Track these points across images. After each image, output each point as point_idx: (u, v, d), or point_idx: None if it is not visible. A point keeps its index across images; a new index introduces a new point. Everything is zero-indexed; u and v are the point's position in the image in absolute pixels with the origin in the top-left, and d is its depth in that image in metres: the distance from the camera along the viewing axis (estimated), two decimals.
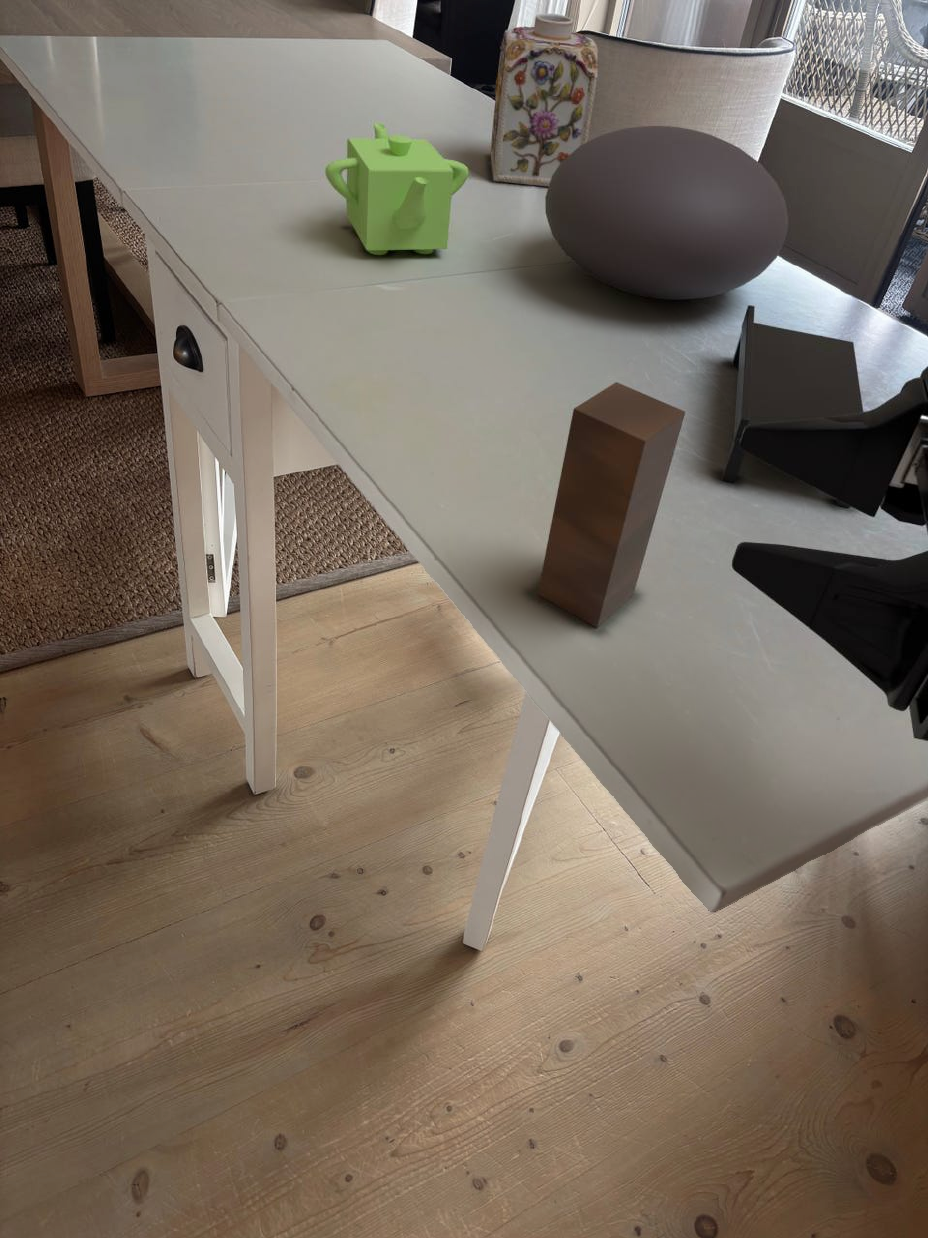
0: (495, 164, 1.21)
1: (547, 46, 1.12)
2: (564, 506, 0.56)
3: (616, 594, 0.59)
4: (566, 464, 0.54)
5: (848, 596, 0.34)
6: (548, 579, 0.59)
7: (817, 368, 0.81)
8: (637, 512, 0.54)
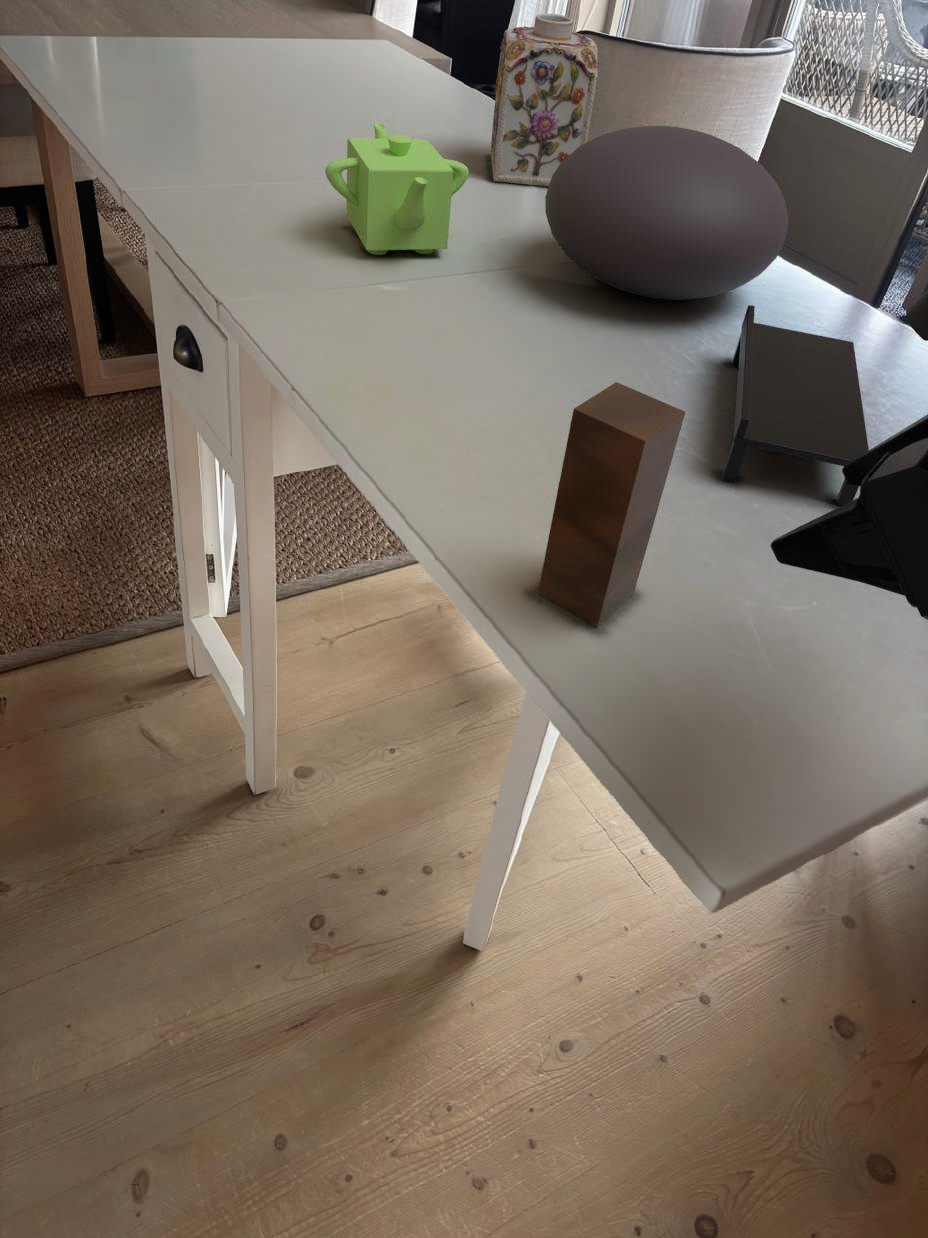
0: (495, 164, 1.21)
1: (547, 46, 1.12)
2: (564, 506, 0.56)
3: (616, 594, 0.59)
4: (566, 464, 0.54)
5: (847, 538, 0.40)
6: (548, 579, 0.59)
7: (817, 368, 0.81)
8: (637, 512, 0.54)
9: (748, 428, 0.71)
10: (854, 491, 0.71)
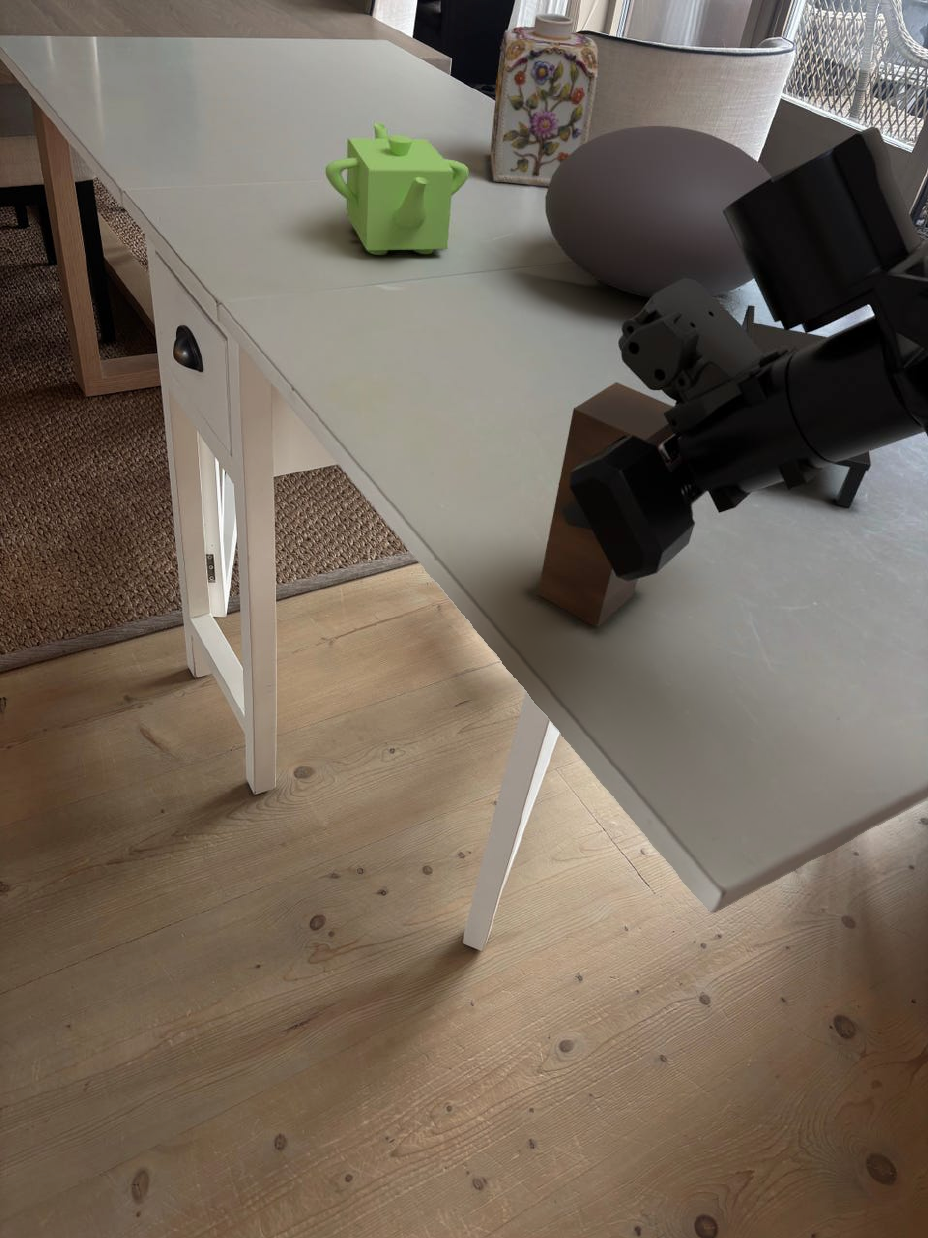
0: (495, 164, 1.21)
1: (547, 46, 1.12)
2: None
3: (616, 594, 0.59)
4: (566, 464, 0.54)
5: None
6: (548, 579, 0.59)
7: None
8: None
9: None
10: (854, 491, 0.71)
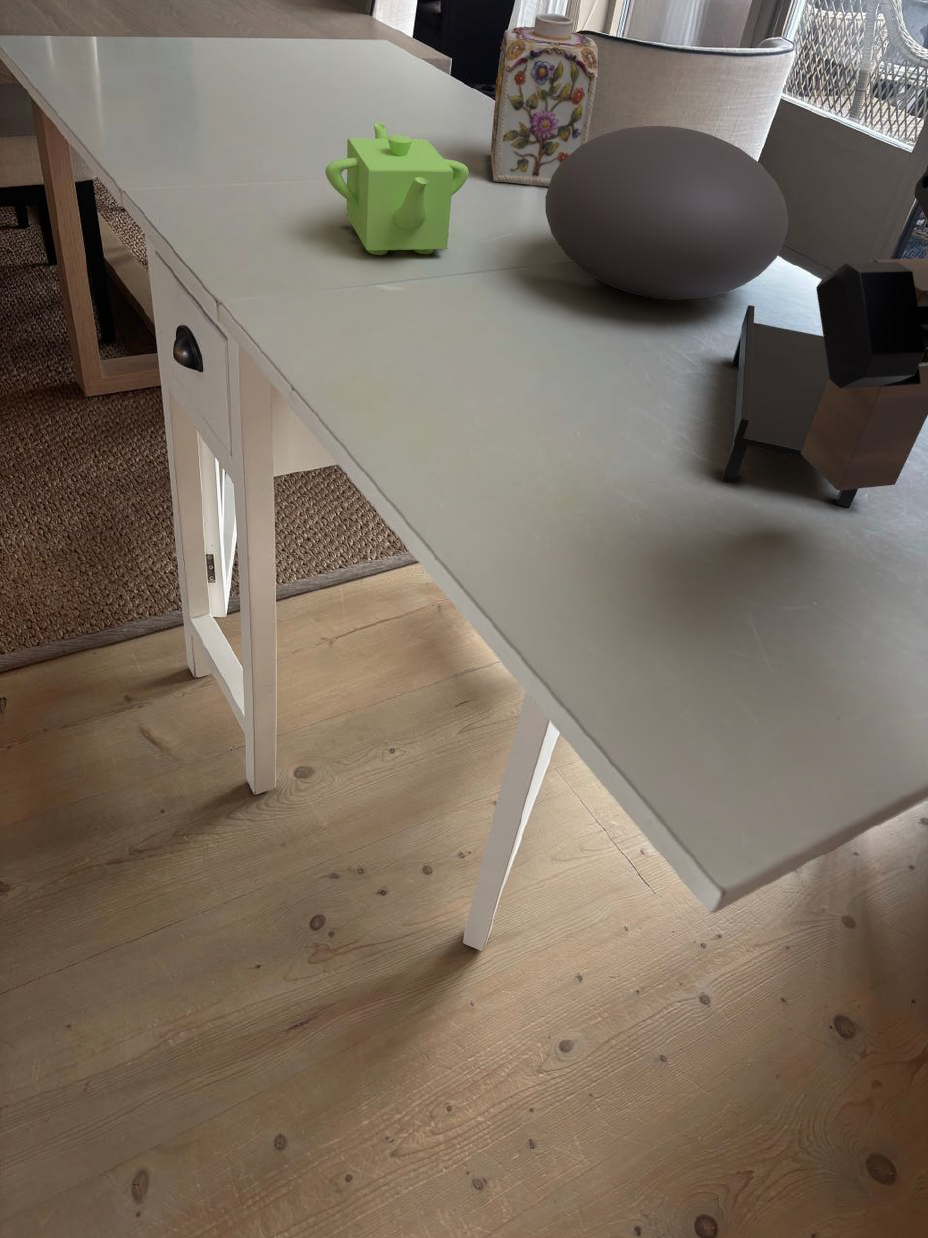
0: (495, 164, 1.21)
1: (547, 46, 1.12)
2: None
3: (869, 466, 0.61)
4: None
5: None
6: (812, 437, 0.64)
7: (817, 368, 0.81)
8: None
9: (748, 428, 0.71)
10: (854, 491, 0.71)
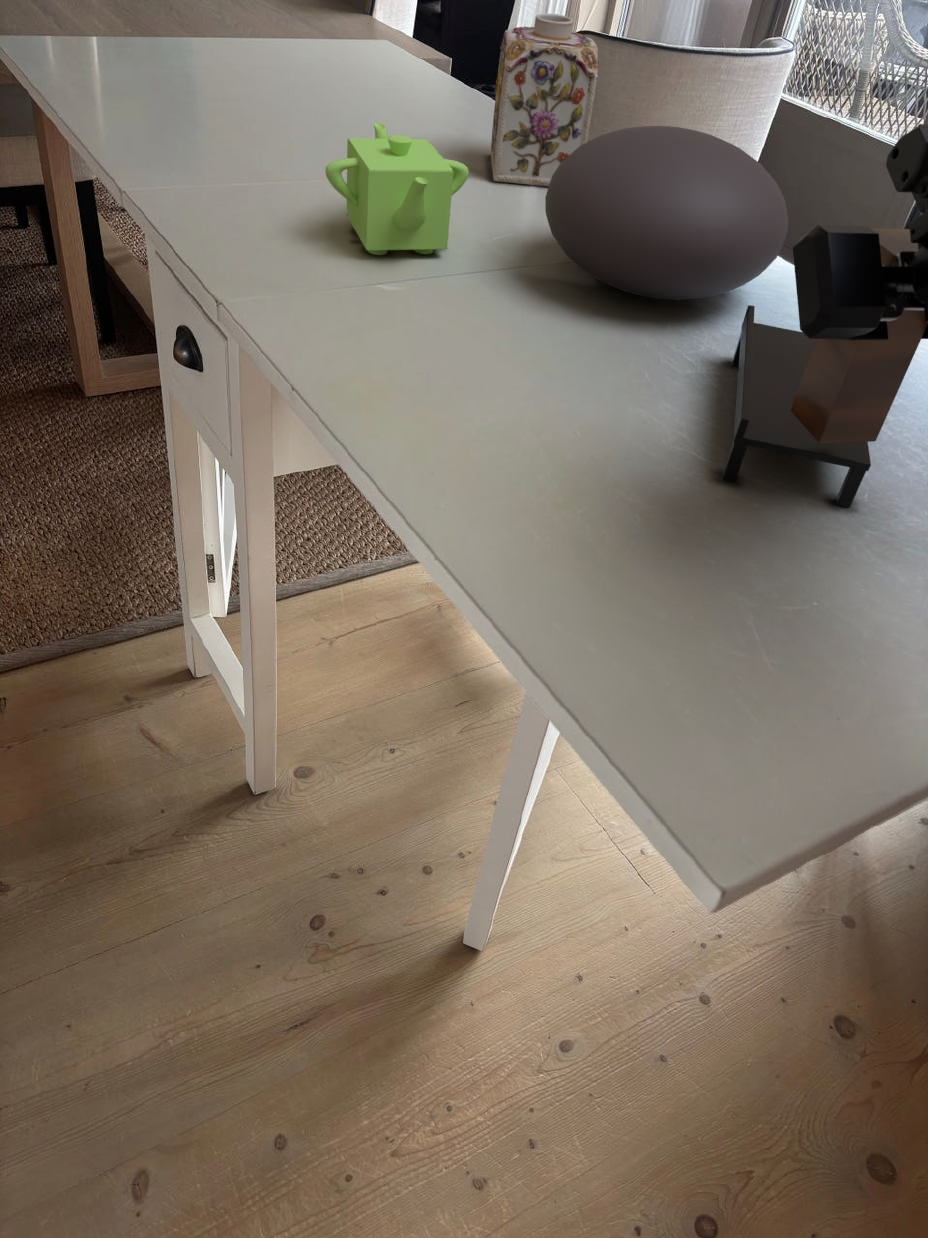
0: (495, 164, 1.21)
1: (547, 46, 1.12)
2: None
3: (849, 421, 0.66)
4: None
5: None
6: (800, 395, 0.69)
7: None
8: None
9: (748, 428, 0.71)
10: (854, 491, 0.71)
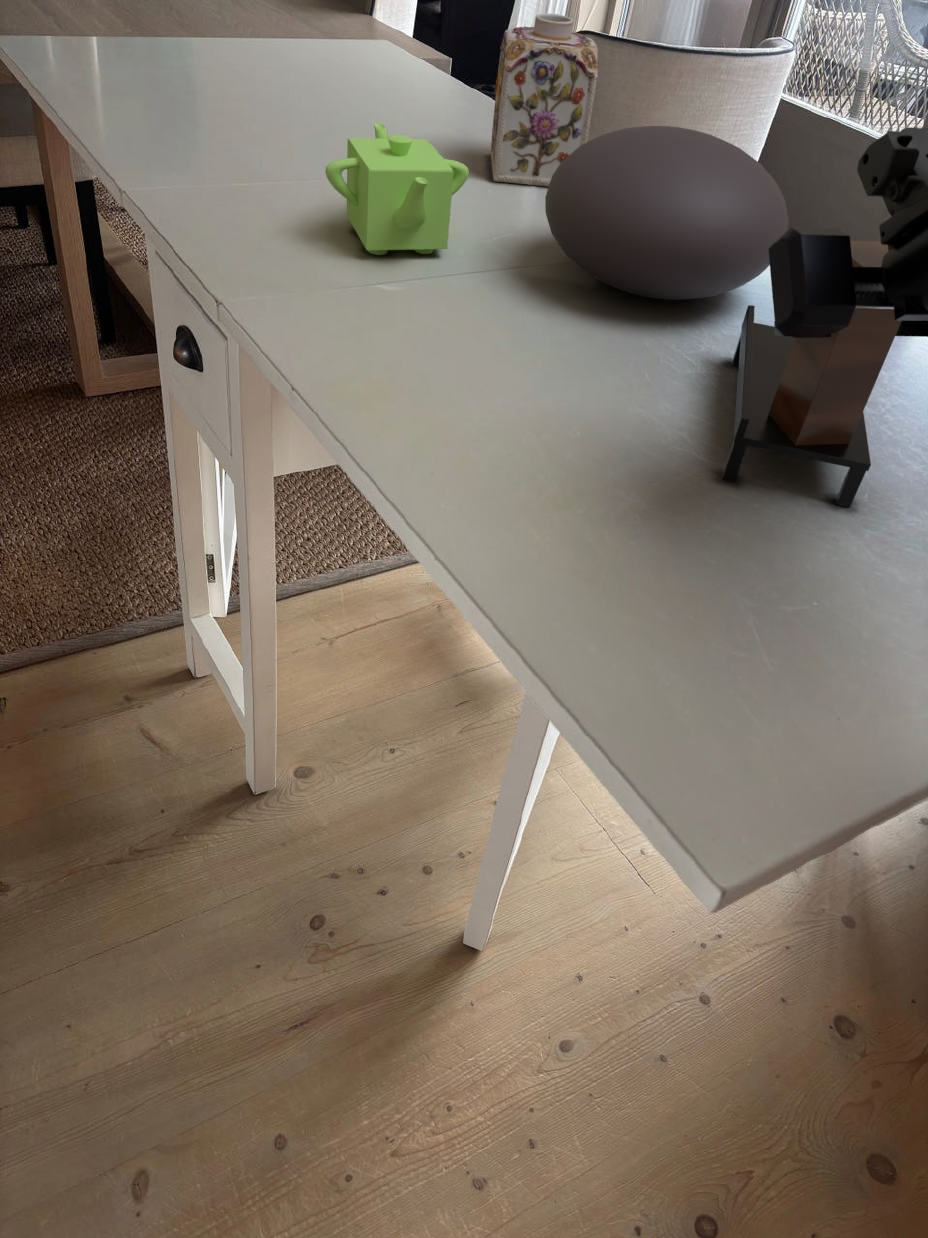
0: (495, 164, 1.21)
1: (547, 46, 1.12)
2: None
3: (823, 424, 0.69)
4: None
5: None
6: (778, 399, 0.72)
7: None
8: (852, 344, 0.65)
9: (748, 428, 0.71)
10: (854, 491, 0.71)
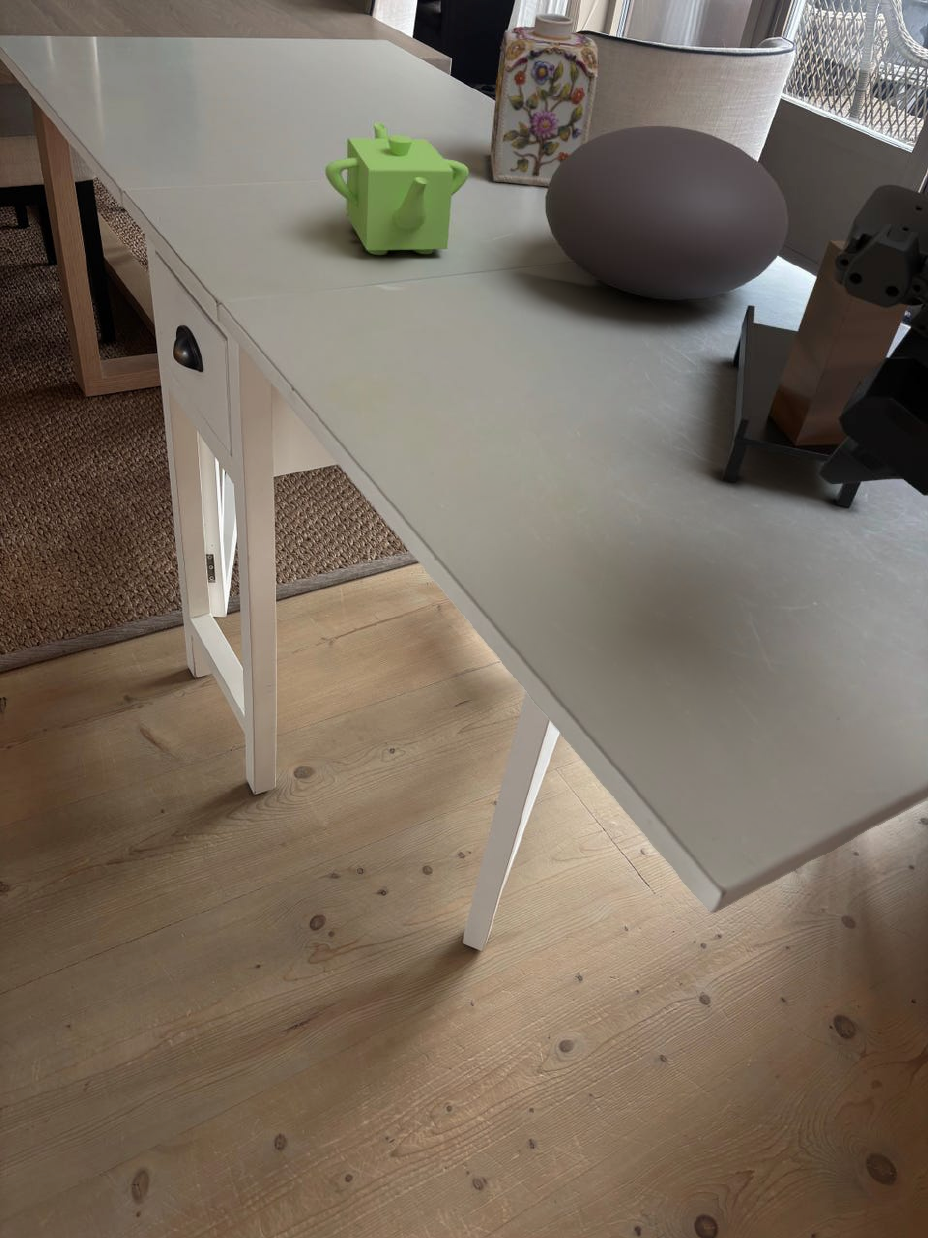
0: (495, 164, 1.21)
1: (547, 46, 1.12)
2: (803, 330, 0.68)
3: (823, 424, 0.69)
4: (813, 291, 0.67)
5: (863, 451, 0.51)
6: (778, 399, 0.72)
7: None
8: (852, 344, 0.65)
9: (748, 428, 0.71)
10: (854, 491, 0.71)
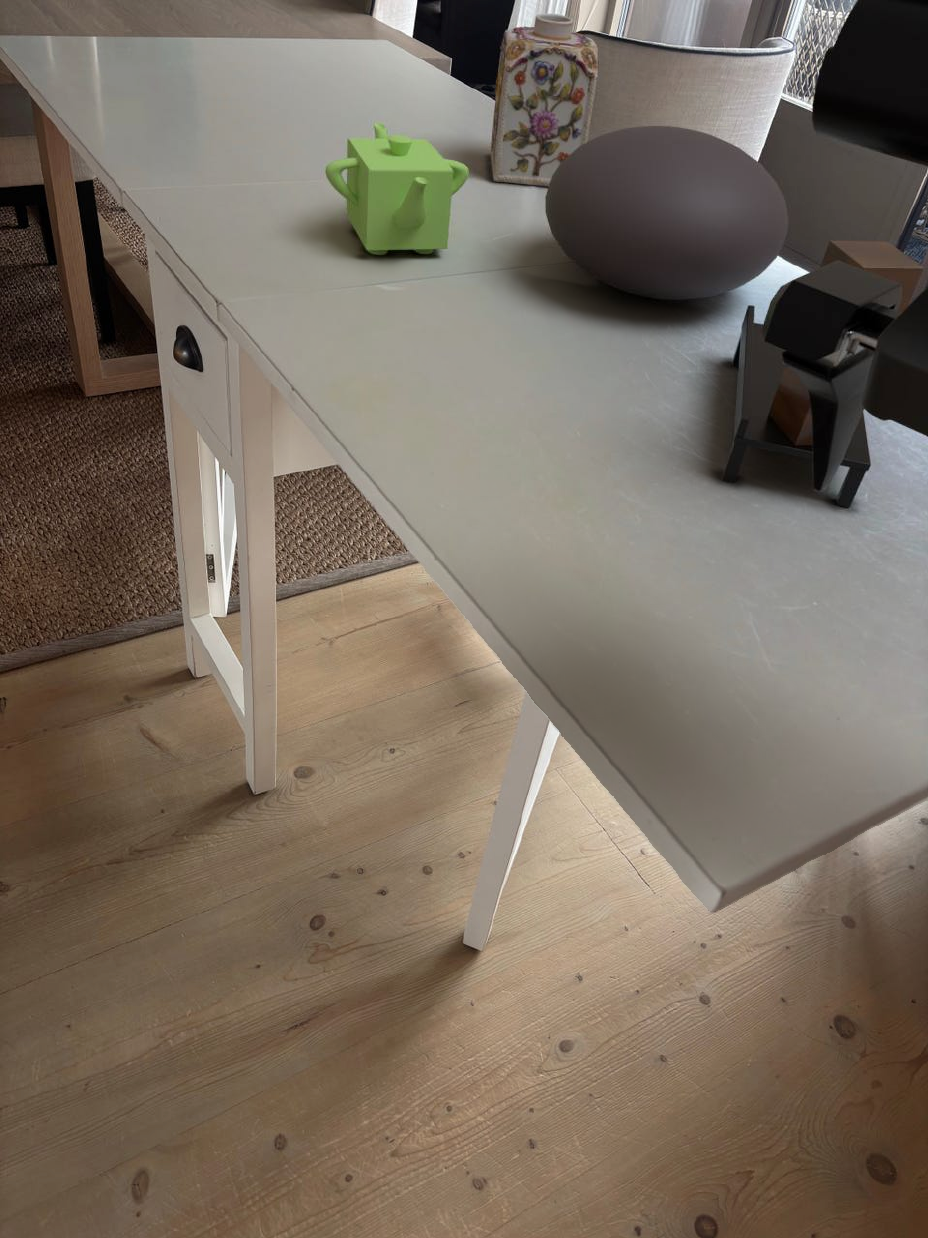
0: (495, 164, 1.21)
1: (547, 46, 1.12)
2: None
3: None
4: None
5: None
6: (778, 399, 0.72)
7: None
8: None
9: (748, 428, 0.71)
10: (854, 491, 0.71)
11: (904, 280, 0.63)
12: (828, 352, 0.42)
